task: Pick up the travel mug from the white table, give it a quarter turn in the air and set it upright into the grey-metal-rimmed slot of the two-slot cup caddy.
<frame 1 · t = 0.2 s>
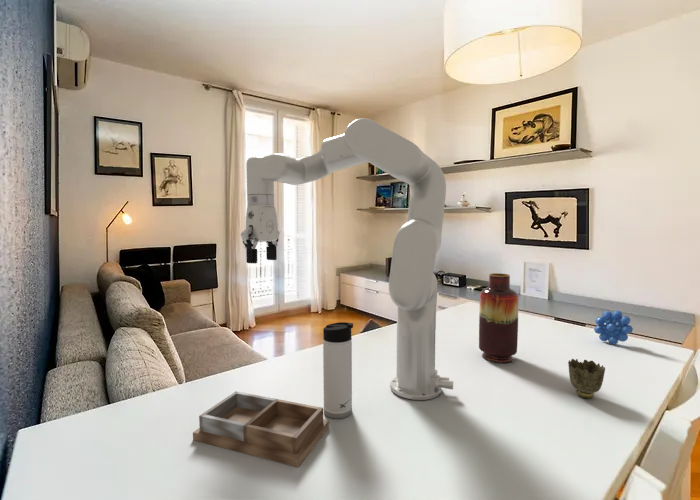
hand: (262, 261, 105), 31 cm above the table, tool pointing down, fingers open, 9 cm apart
cup caddy: (262, 433, 72), on the table
cup: (584, 397, 87), on the table
travel mug: (338, 412, 81), on the table
vase: (497, 358, 113), on the table
grapes: (613, 344, 126), on the table
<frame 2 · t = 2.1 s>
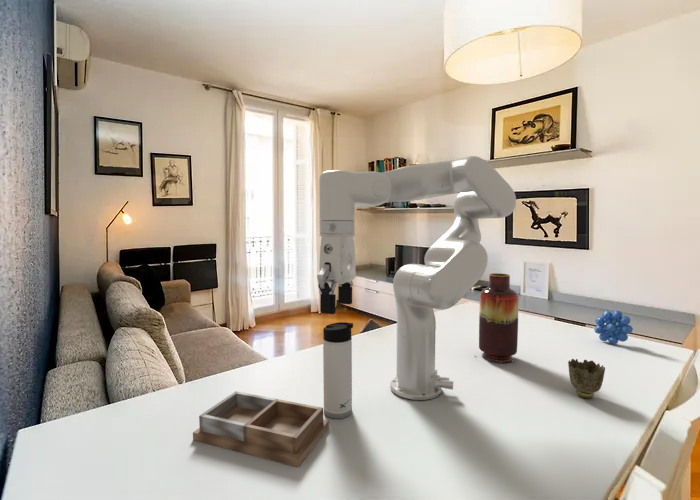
hand: (337, 308, 79), 23 cm above the table, tool pointing down, fingers open, 9 cm apart
nothing on the table moved.
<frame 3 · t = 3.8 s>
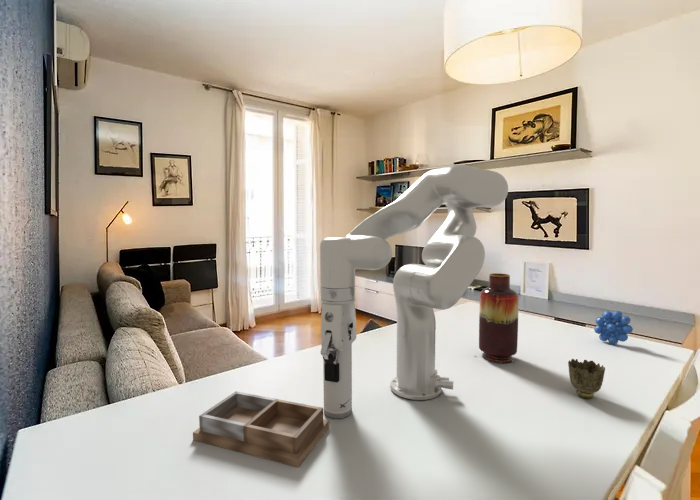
hand: (338, 373, 80), 9 cm above the table, tool pointing down, fingers closed on travel mug, 6 cm apart
travel mug: (338, 412, 81), on the table, touching gripper
everything else where it was.
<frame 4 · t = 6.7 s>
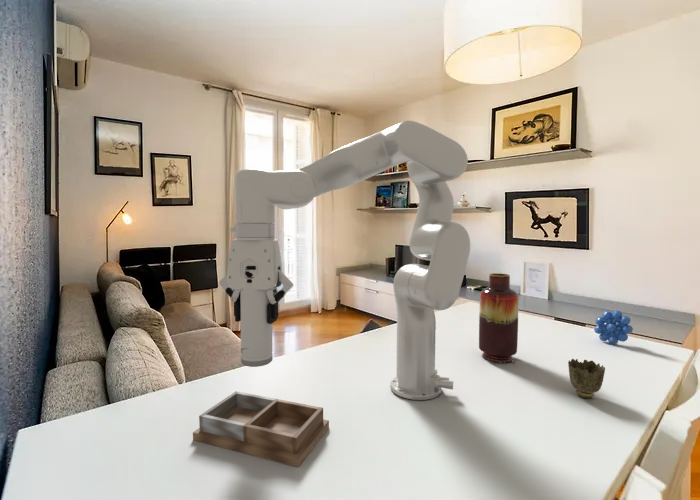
hand: (256, 320, 74), 22 cm above the table, tool pointing down, fingers closed on travel mug, 6 cm apart
travel mug: (256, 362, 74), point 13 cm above the table, touching gripper
everything else where it was.
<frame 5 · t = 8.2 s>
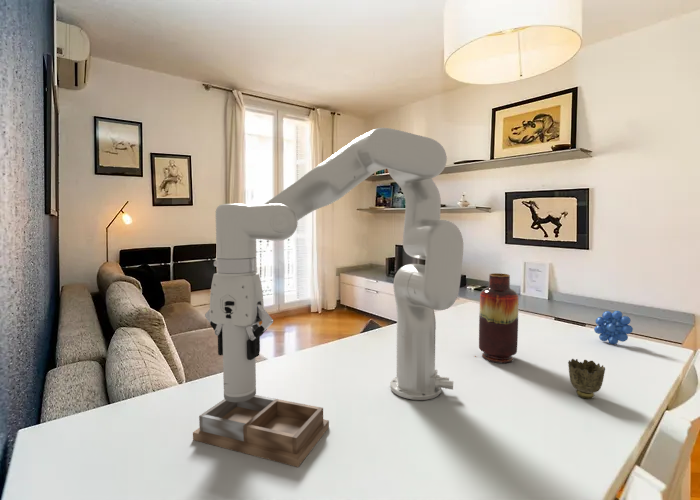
hand: (238, 354, 73), 15 cm above the table, tool pointing down, fingers closed on travel mug, 6 cm apart
travel mug: (239, 396, 74), point 7 cm above the table, touching gripper
everything else where it was.
when the fingers open (11 cm above the table, at t = 9.4 s): travel mug drops 1 cm, resting on cup caddy.
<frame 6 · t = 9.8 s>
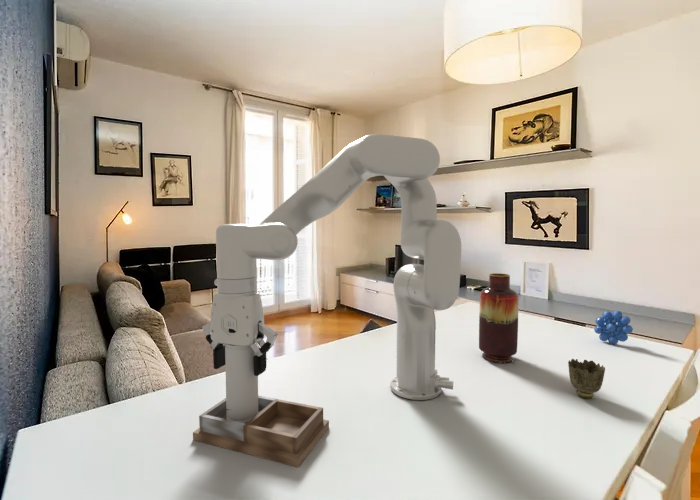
hand: (239, 369, 73), 12 cm above the table, tool pointing down, fingers open, 9 cm apart
travel mug: (242, 422, 74), point 1 cm above the table, touching cup caddy
everything else where it was.
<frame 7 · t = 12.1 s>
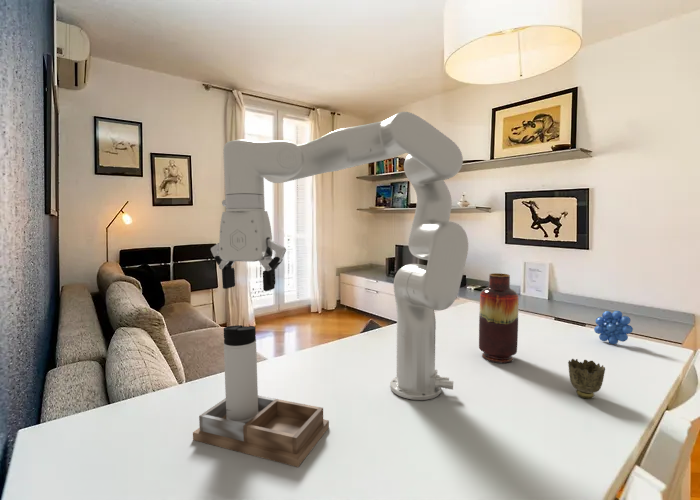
hand: (248, 288, 74), 28 cm above the table, tool pointing down, fingers open, 9 cm apart
nothing on the table moved.
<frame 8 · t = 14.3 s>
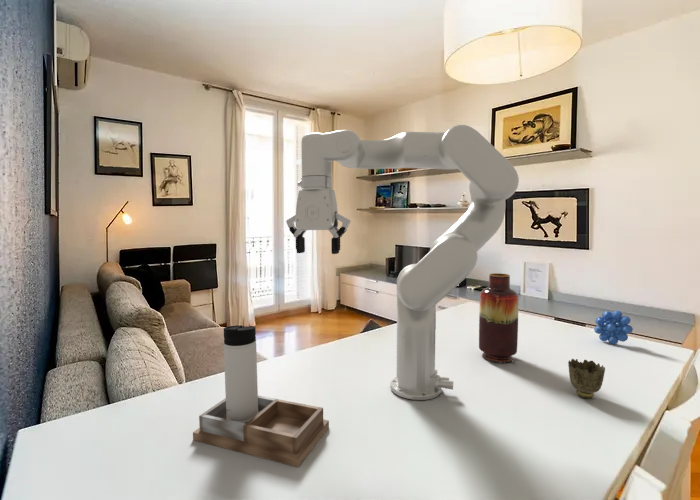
hand: (317, 253, 92), 34 cm above the table, tool pointing down, fingers open, 9 cm apart
nothing on the table moved.
at the end: travel mug 0.2 cm from the target spot on the cup caddy, point 1.3 cm above the cup caddy's base; travel mug tilted 0°; the gripper is holding nothing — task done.
